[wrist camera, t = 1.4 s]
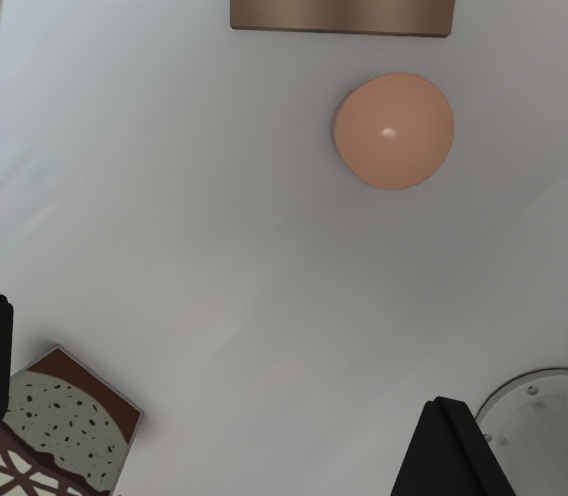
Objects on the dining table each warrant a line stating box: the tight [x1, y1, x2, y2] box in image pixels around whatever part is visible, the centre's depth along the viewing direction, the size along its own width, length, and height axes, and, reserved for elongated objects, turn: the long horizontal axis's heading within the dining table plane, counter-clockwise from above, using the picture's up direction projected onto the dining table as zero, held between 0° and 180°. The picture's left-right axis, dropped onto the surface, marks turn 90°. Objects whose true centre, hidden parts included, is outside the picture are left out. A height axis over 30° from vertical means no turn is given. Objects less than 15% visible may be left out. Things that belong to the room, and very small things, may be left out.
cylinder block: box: [331, 73, 454, 190], centre depth 27 cm, size 6×6×8 cm
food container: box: [0, 344, 144, 496], centre depth 34 cm, size 12×6×10 cm, turn 46°
